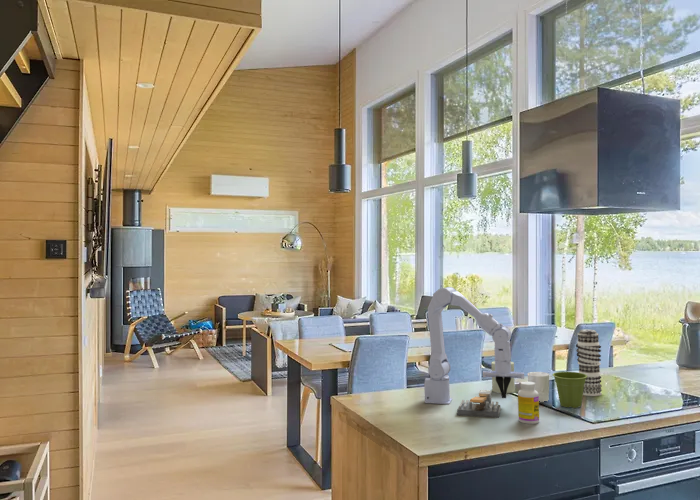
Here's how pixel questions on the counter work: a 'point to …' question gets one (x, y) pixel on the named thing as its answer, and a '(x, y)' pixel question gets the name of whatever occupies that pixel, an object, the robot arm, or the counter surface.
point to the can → (511, 385)
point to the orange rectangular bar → (478, 399)
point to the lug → (486, 395)
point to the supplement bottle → (528, 403)
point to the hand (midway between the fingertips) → (504, 397)
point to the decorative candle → (589, 361)
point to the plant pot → (570, 388)
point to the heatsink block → (479, 409)
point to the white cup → (540, 384)
